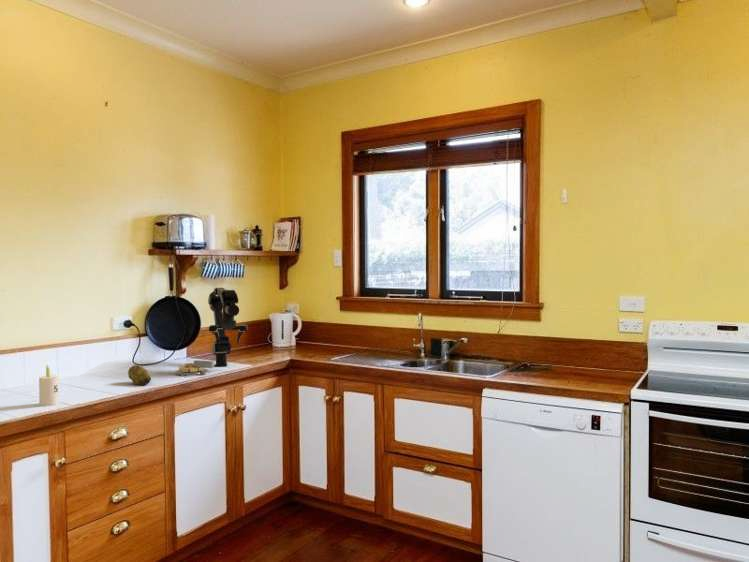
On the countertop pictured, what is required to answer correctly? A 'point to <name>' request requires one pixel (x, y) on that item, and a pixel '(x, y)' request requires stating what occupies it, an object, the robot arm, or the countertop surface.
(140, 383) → the potato
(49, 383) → the candle
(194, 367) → the round metal dish
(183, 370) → the tan curved piece
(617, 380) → the countertop surface
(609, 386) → the countertop surface
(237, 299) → the robot arm
